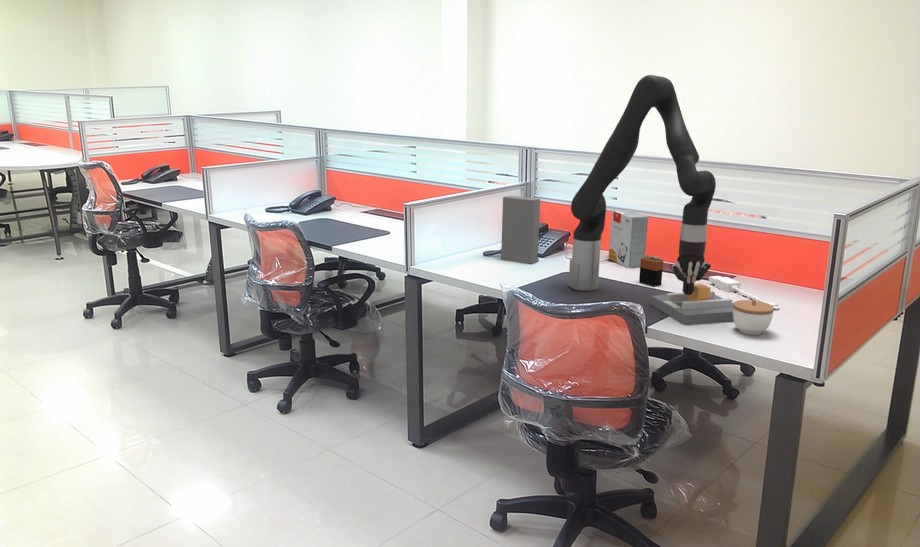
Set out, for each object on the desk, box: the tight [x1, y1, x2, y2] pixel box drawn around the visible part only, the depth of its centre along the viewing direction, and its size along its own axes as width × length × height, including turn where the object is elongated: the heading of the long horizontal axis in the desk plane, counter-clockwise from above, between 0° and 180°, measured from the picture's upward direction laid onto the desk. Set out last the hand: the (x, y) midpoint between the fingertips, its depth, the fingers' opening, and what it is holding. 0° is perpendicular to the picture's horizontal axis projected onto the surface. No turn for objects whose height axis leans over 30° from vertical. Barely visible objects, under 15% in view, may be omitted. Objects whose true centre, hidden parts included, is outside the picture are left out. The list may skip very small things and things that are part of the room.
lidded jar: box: [732, 298, 775, 336], centre depth 201 cm, size 11×11×9 cm
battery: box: [638, 254, 664, 287], centre depth 249 cm, size 4×7×10 cm, turn 37°
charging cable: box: [708, 275, 781, 310], centre depth 237 cm, size 5×32×3 cm, turn 17°
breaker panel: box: [650, 290, 734, 326], centre depth 218 cm, size 21×20×5 cm
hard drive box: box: [608, 209, 649, 269], centre depth 277 cm, size 16×8×20 cm, turn 17°
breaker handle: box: [688, 282, 711, 301], centre depth 217 cm, size 4×5×5 cm
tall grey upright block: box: [500, 195, 541, 265], centre depth 278 cm, size 14×6×25 cm, turn 58°
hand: (687, 294), depth 216 cm, fingers closed
